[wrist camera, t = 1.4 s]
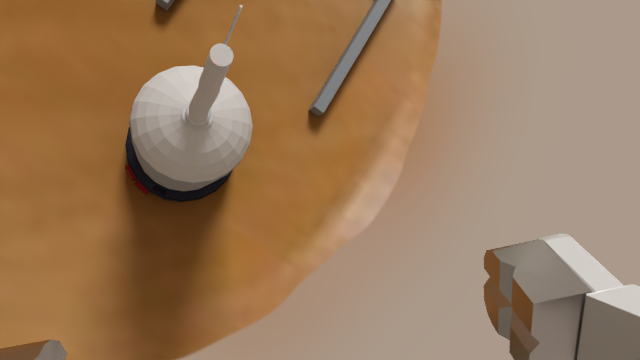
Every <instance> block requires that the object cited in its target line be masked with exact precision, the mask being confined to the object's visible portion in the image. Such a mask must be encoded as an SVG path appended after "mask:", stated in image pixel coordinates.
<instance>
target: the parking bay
mask: <svg viewBox="0 0 640 360" xmlns="http://www.w3.org/2000/svg"><path fill="white" fill-rule="evenodd" d="M174 1H175V0H156V4H157V5H159V6H160V7H162V8H163V9H164V10H166V11H167V10H168V9H169V8H170V6H171V5H172V4H173V2H174ZM390 1H391V0H375V2H374V3H373V5H372V7H371V8H370V10H369V11H368V13H367V15H366V16H365V18H364V20H363V21H362V23H361V25H360V26H359V28H358V30H357V31H356V33H355V35H354V36H353V38H352V40H351V41H350V43H349V44H348V46H347V48H346V49H345V51H344V53H343V54H342V56H341V58H340V59H339V61H338V63H337V64H336V66H335V68H334V69H333V71H332V73H331V74H330V76H329V77H328V79H327V81H326V82H325V84H324V86H323V87H322V89H321V91H320V92H319V94H318V96H317V97H316V99H315V101H314V102H313V104H312V105H311V107H310V109H309V111H311V112H312V113H314V114H315V115H317V116H320V115H321V114H323V113H324V112H325V110H326V108H327V107H328V105H329V103H330V102H331V100H332V98H333V97H334V95H335V93H336V92H337V90H338V88H339V87H340V85H341V83H342V82H343V80H344V78H345V76H346V75H347V73H348V71H349V70H350V68H351V66H352V65H353V63H354V61H355V60H356V58H357V56H358V55H359V53H360V51H361V50H362V48H363V46H364V45H365V43H366V41H367V40H368V38H369V36H370V35H371V33H372V31H373V30H374V28H375V26H376V24H377V23H378V21H379V19H380V18H381V16H382V14H383V13H384V11H385V9H386V8H387V6H388V4H389V3H390Z"/></svg>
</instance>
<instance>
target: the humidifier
mask: <svg viewBox="0 0 640 360" xmlns="http://www.w3.org/2000/svg"><path fill="white" fill-rule="evenodd" d="M242 7H243V6H242V5H240V6H239V8H238V11H237V13H236V16H235V18H234V21H233V23H232V26H231V28H230V30H229V33H228V35H227V38H226V40H225V43H224V44H216V45H214V46H213V47H212V48H211V50H210V53H209V55H208V58H207V60H206V63H205V66H204V68H202V67H198V66H179V67H173V68H171V69H168V70H166V71H163V72H160V73H158V74H157V75H155V76H154V77H153V78H152V79H151V80H149V81H148V82H147V83H146V84H145V85H143V87H142V89H141V90H140V92H139V94H138V95H137V97H136V99H135V100H134V103H133V106H132V111H131V117H130V122H129V124H130V127H129V130H128V135H127V140H126V145H125V146H126V153H127V159H128V164H129V165H128V166H125V168H126V170H127V172H128V174H129V176H130V178H131V179H132V181H133V180H135V179H137V181H136V182H135V185H136V186H137V187H138V188H139V189H140V190H141V191H142V192H143V193H144V194H147V193H148V192H150V193H152V194H154V195H156V196H158V197H161V198H163V199H165V200H171V201H177V202H185V201H192V200H198V199H201V198H203V197H205V196H207V195H209V194H211V193H213V192H215V191H216V190H217V189H218V188H219V187H220V186H221V185H222V184H223V183H224V182H225V181H227V179H228V177H229V175H230V174H231V172H232V170H233V169H234V168H235V167H236V166H237V165H238V164H239V163H240V162H241V160H242V158H243V156H244V154H245V152H246V150H247V148H248V146H249V145H250V139H251V133H252V127H253V126H252V120H251V114H250V109H249V106H248V104H247V102H246V100H245V98H244V96H243V94H242V93H241V92H240V90H239V89H238V88H237V87H236V86H235V85H234V84H233V83H232V82H231V81H230V80H229V79H227V78H226V77H225V76H226V74H227V71H228V69H229V67H230V65H231V62H232V60H233V52H232V50H231V48H229V47H228V46H227V43H228V40H229V38H230V35H231V33H232V31H233V28H234V26H235V23H236V21H237V19H238V16H239V14H240V12H241V9H242Z"/></svg>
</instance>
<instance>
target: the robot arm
mask: <svg viewBox="0 0 640 360" xmlns="http://www.w3.org/2000/svg"><path fill="white" fill-rule="evenodd" d="M484 268H485V270H486V271H487V273H488V274H489V276H490V278H489V279H488V281H487V282H486V283H485V285H484V301H485V305H486V309H487V313H488V316H489V318H490V320H491V323H492V324H493V326H494V328H495V330H496V331H497V333H498V334H499V335H501V336H503V337H505V338H507V339H509V340H510V354H511V355H512V357H513V359H514V360H640V287H639V286H636V285H633V284H631V285H626V286H624V285H623V284H622V283H621V282H619V281H618V280H617V279H616V278H615V277H614V276H613V275H612V274H611V273H610V272H609V271H608V270H606V269H605V268H604V267H603V266H602V265H601V264H600V263H599V262H597V260H596V259H594V258H593V257H592V256H591V255H590V254H589V253H588V252H587V251H586V250H584V249H583V248H582V247H581V246H580V245H579V244H578V243H577V242H576V241H575V240H574V239H573V238H571V236H569V235H567V234H564V233H561V234H557V235H552V236H548V237H544V238H540V239H537V240H533V241H529V242H524V243H519V244H515V245H510V246H505V247H500V248H495V249H491V250H487V251H486V253H485V256H484ZM66 356H67V352H66V351H65V349H64V348H63V346H62V345H61V343H60V341H56V340H46V341H40V342H35V343H29V344H24V345H18V346H13V347H7V348H2V349H0V360H65V359H66Z"/></svg>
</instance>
